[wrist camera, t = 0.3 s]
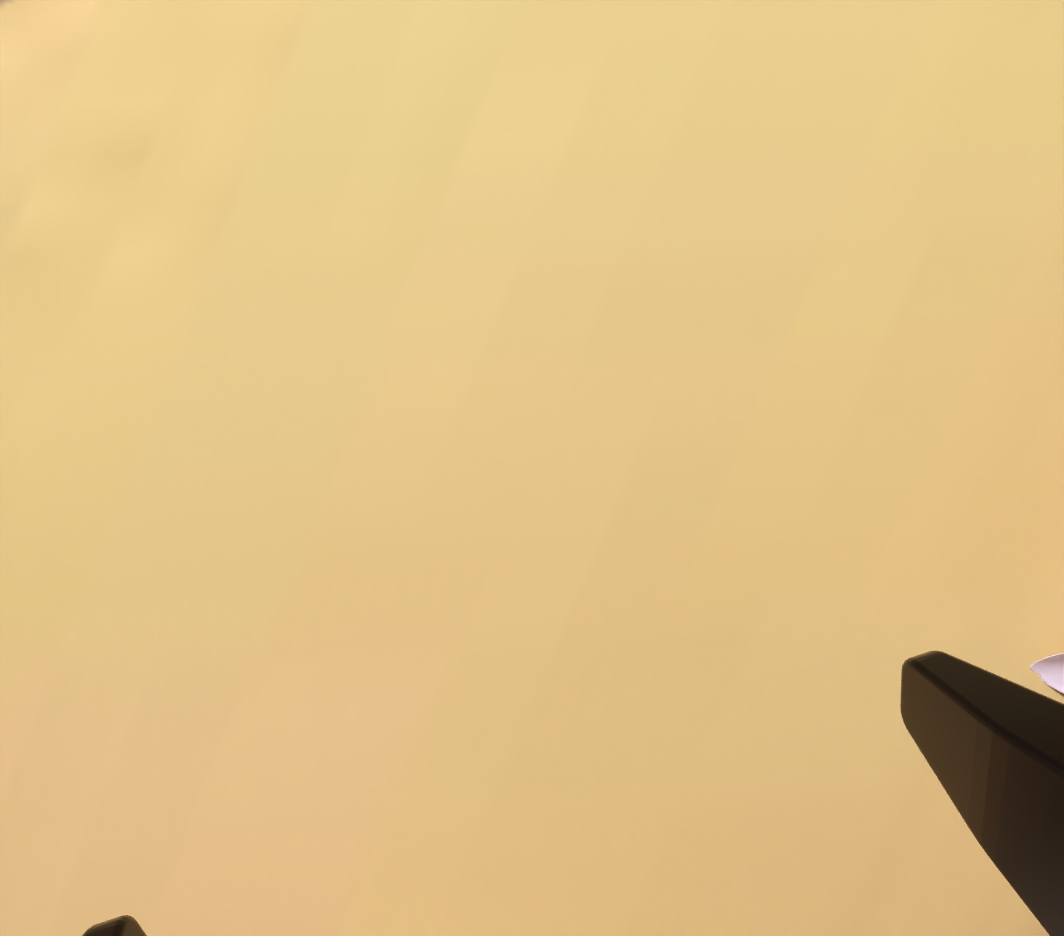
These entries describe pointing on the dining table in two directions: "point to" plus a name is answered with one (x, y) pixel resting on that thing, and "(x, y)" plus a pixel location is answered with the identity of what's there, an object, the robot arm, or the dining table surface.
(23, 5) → the dining table surface
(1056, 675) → the water lily
